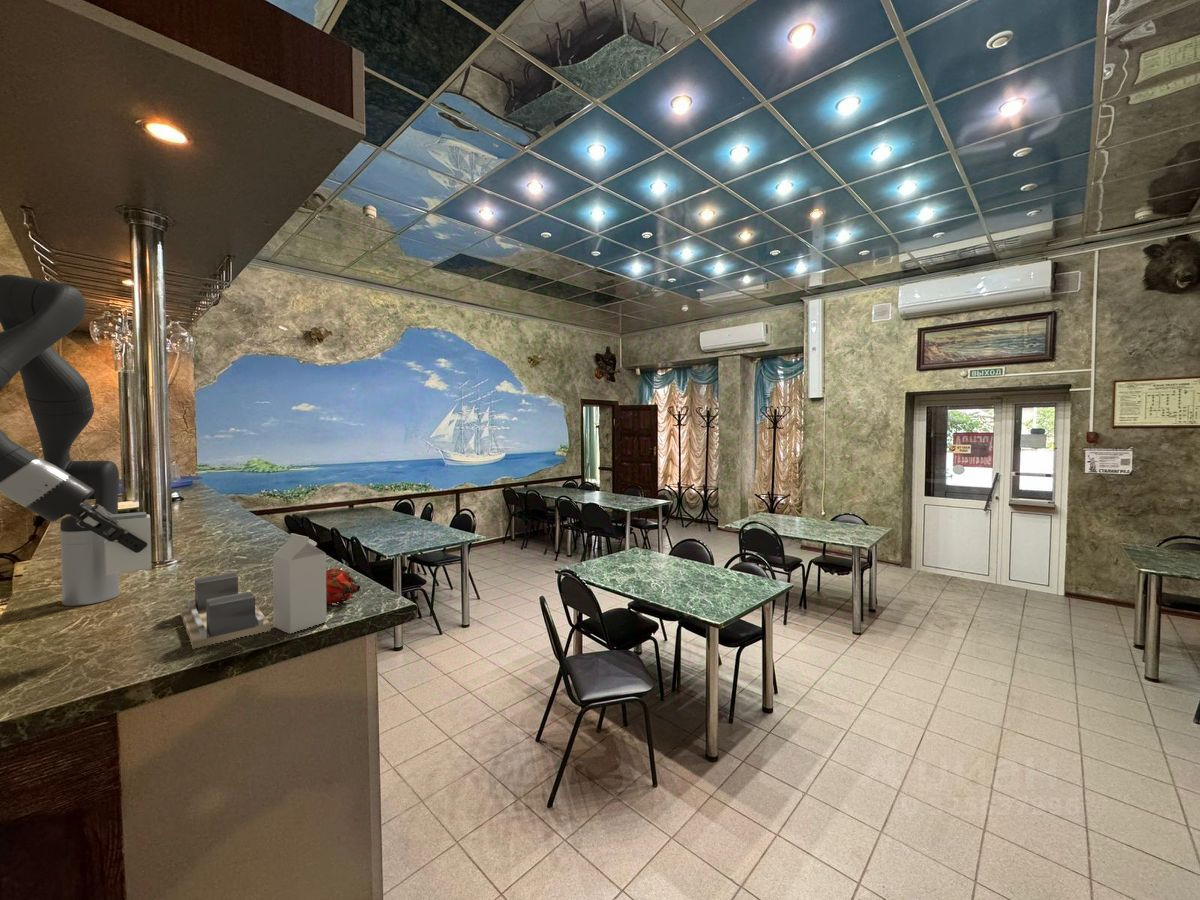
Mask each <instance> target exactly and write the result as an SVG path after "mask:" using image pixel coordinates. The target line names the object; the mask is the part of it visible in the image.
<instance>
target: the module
mask: <svg viewBox="0 0 1200 900" xmlns="http://www.w3.org/2000/svg"><path fill="white" fill-rule="evenodd" d="M110 516H112V517H113V518H114V519H116V520H117V521H118V525H119V526H121V527H122V528H124V529H127V530H128V531H129V532H130V533H131V534H133V535H135V536H136V537H138V538H140V539H141V540H143V541H145V542H146V543H147V546H146V547H145V548H144V549H143V550H142V551H140V552H139V553H135V552H133V551H132V550H130V549H128V548H127V547H125V546H123V545H121V544H120V543H118V542H111V541H110V542H109V541H108V540H107V539H106V572H107V575H111V574H118V573H119V574H123V573H133V572H138V571H145V570H152V540H151V539H152V533H151V532H152V531H151V530H152V529H151V528H152V526H151V523H152V522H151V515H150V513H148V514H147V512H146V511H141V512H140V511H138V512H126V513H118V514H112V515H110ZM109 522H110V520H109ZM115 530H116V529H114V528H112V529H110V530H109V531H108V532H107V533H108V534H112V533H113V532H114V531H115Z"/></svg>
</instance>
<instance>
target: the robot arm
mask: <svg viewBox="0 0 1200 900" xmlns="http://www.w3.org/2000/svg"><path fill="white" fill-rule="evenodd" d="M86 312H87V305H86V300H85V298H84V296H83V295H82V293H81V292H80V291H79V290H78V289H77V288H75V287H74V286H71V285H69V284H66V283H62V282H57V281H51V280H46V279H40V278H34V277H29V276H22V275H16V274H2V275H0V325H1V327H2V330H3V331H1V332H0V392H1V391H3V390H4V389H5V387H6V386H7V384H9V383H10V382H11V380H12V379H13V378H14V377H15V376H16V375H17V374H18V372H19V373H20V376H21V379H22V385H23V388H24V392H25V397H26V400H27V403H28V407H29V411H30V413H31V416H32V419H33V421H34V424H35V427H36V430H37V434H38V437H39V441H40V444H41V448H42V455H43V459H42V458H41V457H39V456H38V455H36V454H34V453H32V452H31V451H29V450H28V449H26V448H25V447H23V446H21V445H20V444H18V443H16V442H14V441H12V440H11V439H10V438H9V436H7V434H5V432H4V431H3V430H2V429H1V428H0V493H1V494H2V495H3V496H4V497H5V498H7V499H9V500H11V501H13V502H14V503H17V504H18V505H20V506H22V507H23V508H26V509H27V510H28V511H31V512H33V513H34V514H36V515H38V516H39V517H42V518H43V519H44V520H46V521H48V522H56V521H58V520H60V519H61V520H60V525H59V526H60V527H59V528H60V553H61V554H60V555H61V557H60V558H61V596H62V597H61V599H62V600H61V601H62V603H61V604H62V605H63V606H67V607H69V606H70V607H77V606H85V605H92V604H96V603H101V602H105V601H109V600H112V599H114V598H117V597H118V596H120V587H119V586H120V580H119V579H120V575H119V574H120V573H118V574H111V575H107V572H106V539H107V540H108V541H109V542H110V541H111V542H118V543H120V544H121V545H123V546H125V547H127V548H128V549H130V550H132V551H133V552H135V553H139V552H140V551H142V550H143V549H144V548H145V547H146V546H147V543H146V542H145V541H143V540H141V539H140V538H138V537H136V536H135V535H133V534H131V533H130V532H129V531H128V530H127V529H124V528H122V527H121V526H119V525H118V521H117V520H116V519H114V518H113V517H112V516H110V515H112V514H119V488H120V487H119V486H120V472H119V468H118V465H117V464H116V463H115V462H114V461H110V460H72V459H71V457H70V451H71V450H70V449H71V448H72V445H73V443H74V442H75V440H76V439H77V438H78V436H79V435H80V434H81V432H83V430H84V429H85V428H86V427H87V425H88V424H89V422H90V421H92V418H93V416H94V414H95V408H94V403H93V398H92V394H91V389H90V386H89V384H88V382H87V381H86V379H85V378H84V376H82V374H81V373H80V372H79V371H77V370H76V368H74V367H73V366H72V365H71V363H69V362H68V361H67V360H66V359H65V358H63V357H62V356H61V355H60V353H58V352H57V351H56V350H55V349H54V348H53V345H55V344H56V343H58V342H59V341H60V340H61V339H62V338H64V337H65V336H67V335H69V334H70V333H71V332H73V331H74V330H75V329H76V328H77V327H78V326H79V325H80V324H81V323H82V321H83V320H84V318H85V317H86V316H85V315H86ZM86 500H95V503H94V505H92V504H91V503H88V502H87V501H86ZM66 515H68V516H66ZM64 516H66V517H64ZM109 520H110V522H109ZM112 528H114V529H116V530H115V531H114V532H113V533H112V534H108V533H107V532H108V531H109V530H110V529H112Z"/></svg>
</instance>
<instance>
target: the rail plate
mask: <svg viewBox="0 0 1200 900" xmlns="http://www.w3.org/2000/svg"><path fill="white" fill-rule="evenodd" d="M194 598H195V599H194V600H195V603H194V600H192V599H191V600H188V601H187V606H183V607H180V608H179V610H180V616H181V617H180V618H181V619H182V623H183V625H184V628H186V629H185V632H186V634H187V637H188V636H189V637H188V639H190V640H189V642H191V643H190V645H192V646H191V648H192V650H193V649H194V650H196V649H195V648H198V649H200V648H199V647H202V646H206V647H208V646H207V645H210V646H212V645H211V644H214V645H216V644H215V643H218V644H221V643H220V642H222V643H225V642H224V641H227V642H229V641H228V640H231V641H233V640H232V639H235V640H237V639H236V638H239V639H241V638H240V637H243V638H245V637H244V636H247V637H250V636H249V635H251V636H254V634H255V635H258V633H260V634H263V633H262V632H264V633H267V631H268V632H271V631H272V630H271V629H272V628H271V627H272V624H271V622H270V621H269V620H268V618H267V617H266V615H264V614H263V612H262V611H261V610H260V608H259V607H258V606H257V605H256V597H255V595H254V594H253V593H252V592H251V591H245V592H242V590H240V591H239V576H238V575H237V574H236V573H235V571H233V572H227V573H221V574H215V575H209V576H201V577H197V578H196V577H195V579H194ZM202 648H203V647H202Z"/></svg>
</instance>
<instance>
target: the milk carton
mask: <svg viewBox="0 0 1200 900" xmlns="http://www.w3.org/2000/svg"><path fill="white" fill-rule="evenodd" d="M317 545H318V543H317V542H316V541H314V540H313V539H311V538H309V536H305V535H300V534H297V533H291V532H290V538H289V539H288V540H287V541H286V542H285V543H284V544H283V545H282V546H281V547H280V548H279V549H278V550H277V551H276V552H275V553H274V554H273V555H272V585H273V586H272V595H273V596H272V597H273V599H272V600H273V608H272V609H273V628H276V629H278V630H280V631H282V632H285V633H286V632H287V633H286V634H289V633H290V634H289V635H292V634H291V633H293V634H295V633H294V632H296V633H298V632H297V631H299V632H301V631H300V630H302V631H304V630H303V629H305V630H307V629H306V628H308V629H310V628H309V627H311V628H313V627H312V626H314V625H317V624H319V623H322V622H325V621H326V622H327V601H326V571H327V553H326V552H325V551H323V550H322V549H320V548H318V547H316V546H317ZM317 626H318V625H317ZM314 627H315V626H314Z"/></svg>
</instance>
